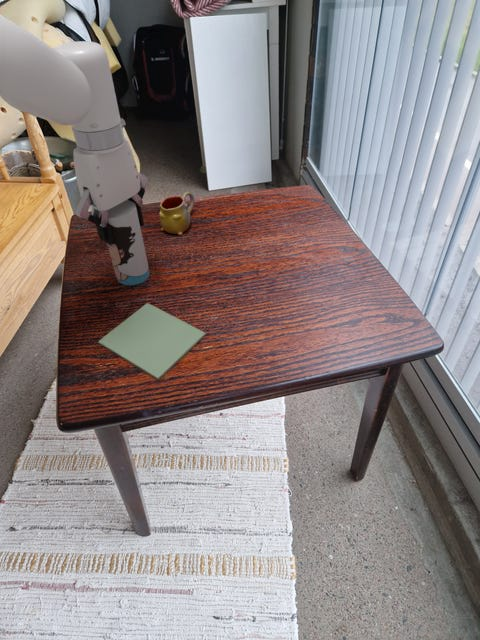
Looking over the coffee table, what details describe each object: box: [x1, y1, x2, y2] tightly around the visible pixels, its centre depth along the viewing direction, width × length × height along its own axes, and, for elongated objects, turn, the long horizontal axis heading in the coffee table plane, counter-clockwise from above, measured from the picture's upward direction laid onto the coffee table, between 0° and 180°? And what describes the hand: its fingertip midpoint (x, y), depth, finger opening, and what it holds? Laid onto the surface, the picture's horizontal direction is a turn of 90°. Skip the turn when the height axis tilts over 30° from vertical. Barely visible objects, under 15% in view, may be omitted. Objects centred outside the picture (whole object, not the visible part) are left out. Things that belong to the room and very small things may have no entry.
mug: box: [159, 191, 195, 236], centre depth 98 cm, size 12×7×7 cm, turn 152°
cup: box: [99, 200, 151, 286], centre depth 81 cm, size 7×7×15 cm
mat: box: [97, 302, 207, 381], centre depth 72 cm, size 12×14×1 cm
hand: (122, 232), depth 79 cm, fingers closed on cup, 6 cm apart
